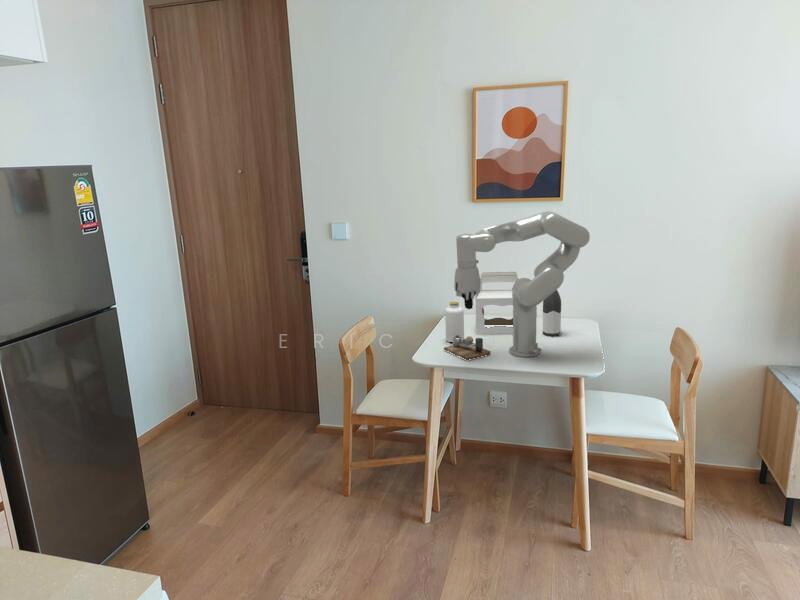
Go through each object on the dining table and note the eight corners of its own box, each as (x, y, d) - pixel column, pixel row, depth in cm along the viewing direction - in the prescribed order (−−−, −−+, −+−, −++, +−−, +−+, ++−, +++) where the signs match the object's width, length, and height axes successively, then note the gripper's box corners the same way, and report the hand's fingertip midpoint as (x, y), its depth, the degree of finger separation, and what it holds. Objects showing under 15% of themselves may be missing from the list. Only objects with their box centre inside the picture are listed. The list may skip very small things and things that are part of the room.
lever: (451, 344, 245) (451, 333, 244) (457, 342, 247) (457, 331, 246) (479, 352, 234) (479, 340, 233) (485, 349, 237) (485, 338, 235)
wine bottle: (558, 331, 263) (560, 268, 255) (562, 336, 255) (563, 271, 248) (541, 331, 264) (542, 268, 256) (543, 337, 256) (544, 272, 249)
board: (490, 354, 237) (490, 340, 236) (466, 361, 231) (466, 346, 230) (467, 344, 251) (466, 331, 249) (444, 350, 245) (443, 336, 243)
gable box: (475, 334, 264) (474, 275, 257) (475, 326, 277) (474, 270, 270) (524, 334, 262) (524, 274, 255) (521, 325, 274) (522, 269, 267)
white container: (465, 338, 259) (464, 300, 255) (462, 344, 252) (461, 305, 247) (447, 337, 262) (446, 300, 257) (444, 343, 254) (443, 304, 249)
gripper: (477, 260, 235) (479, 303, 239) (446, 265, 229) (448, 309, 234) (487, 263, 228) (489, 307, 233) (455, 268, 222) (457, 313, 227)
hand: (468, 308), depth 233 cm, fingers closed
